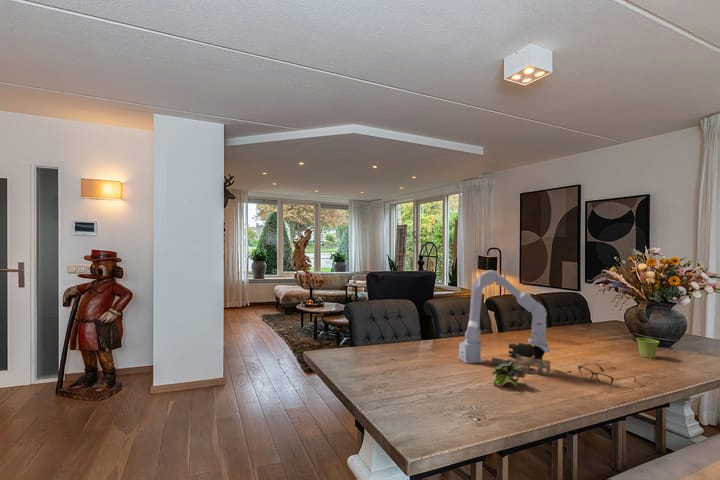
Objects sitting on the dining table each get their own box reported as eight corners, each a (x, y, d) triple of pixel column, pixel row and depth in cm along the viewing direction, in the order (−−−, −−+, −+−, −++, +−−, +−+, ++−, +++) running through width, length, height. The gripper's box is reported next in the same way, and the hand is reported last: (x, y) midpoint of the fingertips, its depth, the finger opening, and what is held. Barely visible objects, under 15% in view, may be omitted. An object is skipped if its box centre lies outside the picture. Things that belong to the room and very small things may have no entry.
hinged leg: (515, 368, 153) (515, 355, 153) (515, 366, 155) (516, 353, 155) (549, 374, 146) (549, 361, 146) (549, 373, 148) (550, 359, 148)
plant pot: (664, 360, 173) (664, 342, 174) (645, 359, 174) (645, 342, 174) (649, 354, 183) (649, 338, 183) (631, 353, 183) (631, 337, 183)
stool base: (545, 382, 138) (545, 368, 138) (487, 370, 150) (487, 358, 150) (548, 367, 157) (548, 355, 157) (496, 357, 169) (496, 346, 169)
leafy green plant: (503, 395, 138) (515, 368, 142) (523, 401, 128) (535, 372, 132) (482, 379, 137) (494, 353, 141) (500, 385, 126) (513, 356, 130)
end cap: (518, 360, 166) (518, 346, 166) (507, 356, 172) (507, 342, 172) (534, 359, 168) (535, 345, 169) (523, 355, 175) (524, 341, 175)
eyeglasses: (575, 374, 150) (575, 364, 151) (600, 370, 156) (600, 361, 156) (614, 388, 135) (614, 378, 135) (640, 384, 141) (640, 374, 141)
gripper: (557, 337, 145) (556, 369, 145) (539, 329, 159) (538, 358, 159) (540, 336, 145) (539, 369, 145) (523, 328, 159) (523, 358, 159)
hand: (538, 363), depth 152 cm, fingers closed
